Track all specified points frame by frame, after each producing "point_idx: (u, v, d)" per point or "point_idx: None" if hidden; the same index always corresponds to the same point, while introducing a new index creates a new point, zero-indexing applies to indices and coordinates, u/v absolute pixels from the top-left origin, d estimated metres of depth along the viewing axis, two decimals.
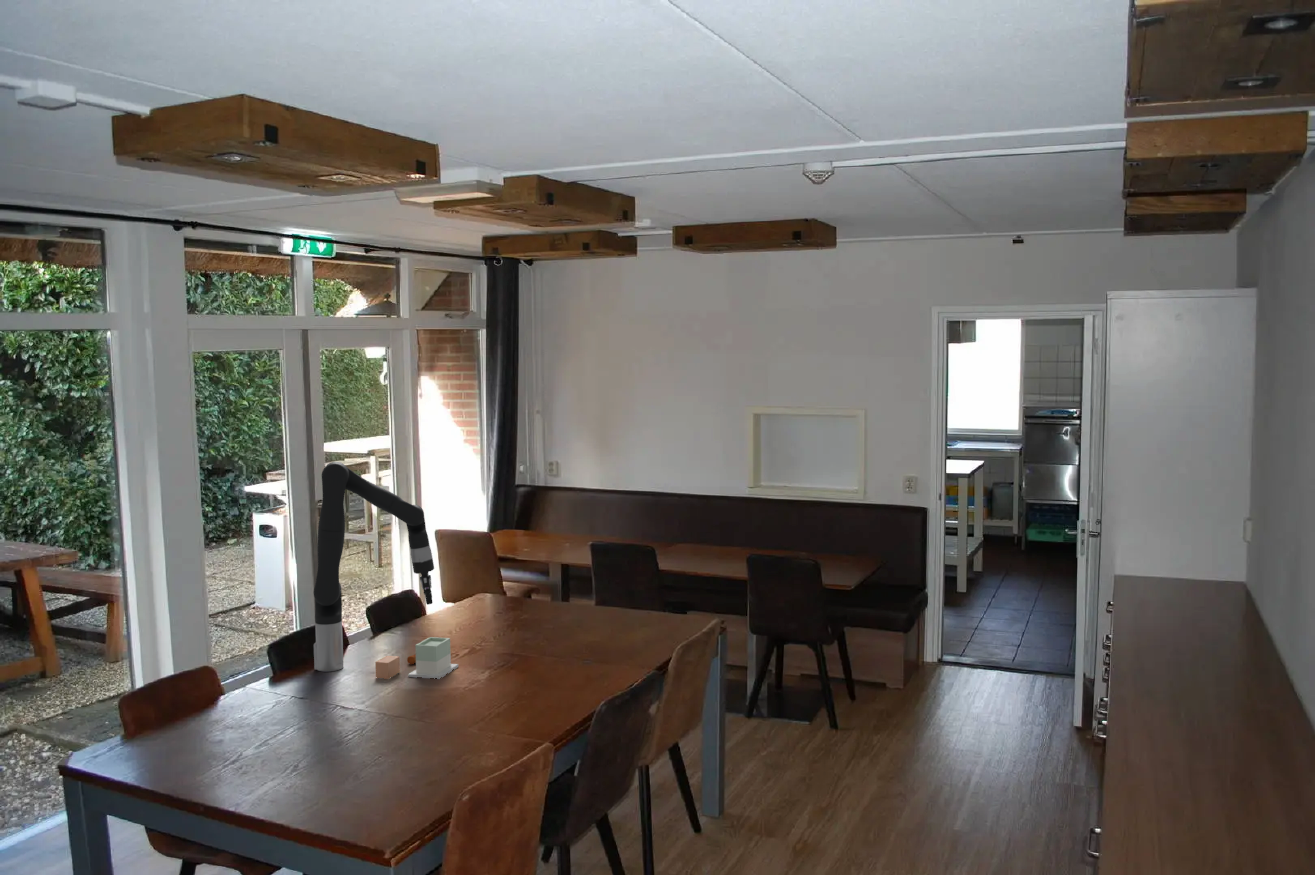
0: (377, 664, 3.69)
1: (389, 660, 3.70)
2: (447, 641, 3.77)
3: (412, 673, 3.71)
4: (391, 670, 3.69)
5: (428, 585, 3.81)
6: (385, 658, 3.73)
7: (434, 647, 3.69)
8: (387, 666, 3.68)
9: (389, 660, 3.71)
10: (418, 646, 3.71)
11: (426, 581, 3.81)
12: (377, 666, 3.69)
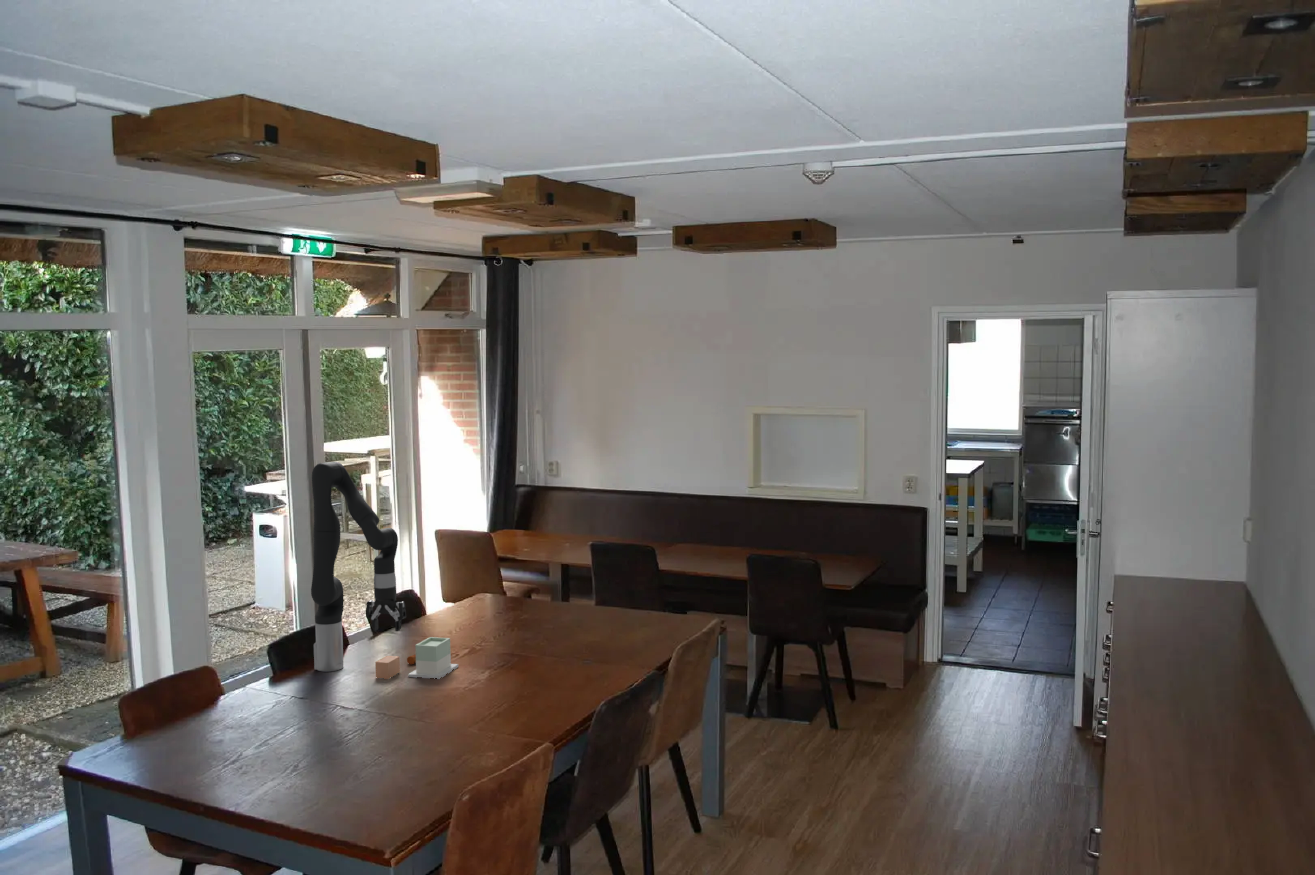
0: (377, 664, 3.69)
1: (389, 660, 3.70)
2: (447, 641, 3.77)
3: (412, 673, 3.71)
4: (391, 670, 3.69)
5: None
6: (385, 658, 3.73)
7: (434, 647, 3.69)
8: (387, 666, 3.68)
9: (389, 660, 3.71)
10: (418, 646, 3.71)
11: None
12: (377, 666, 3.69)
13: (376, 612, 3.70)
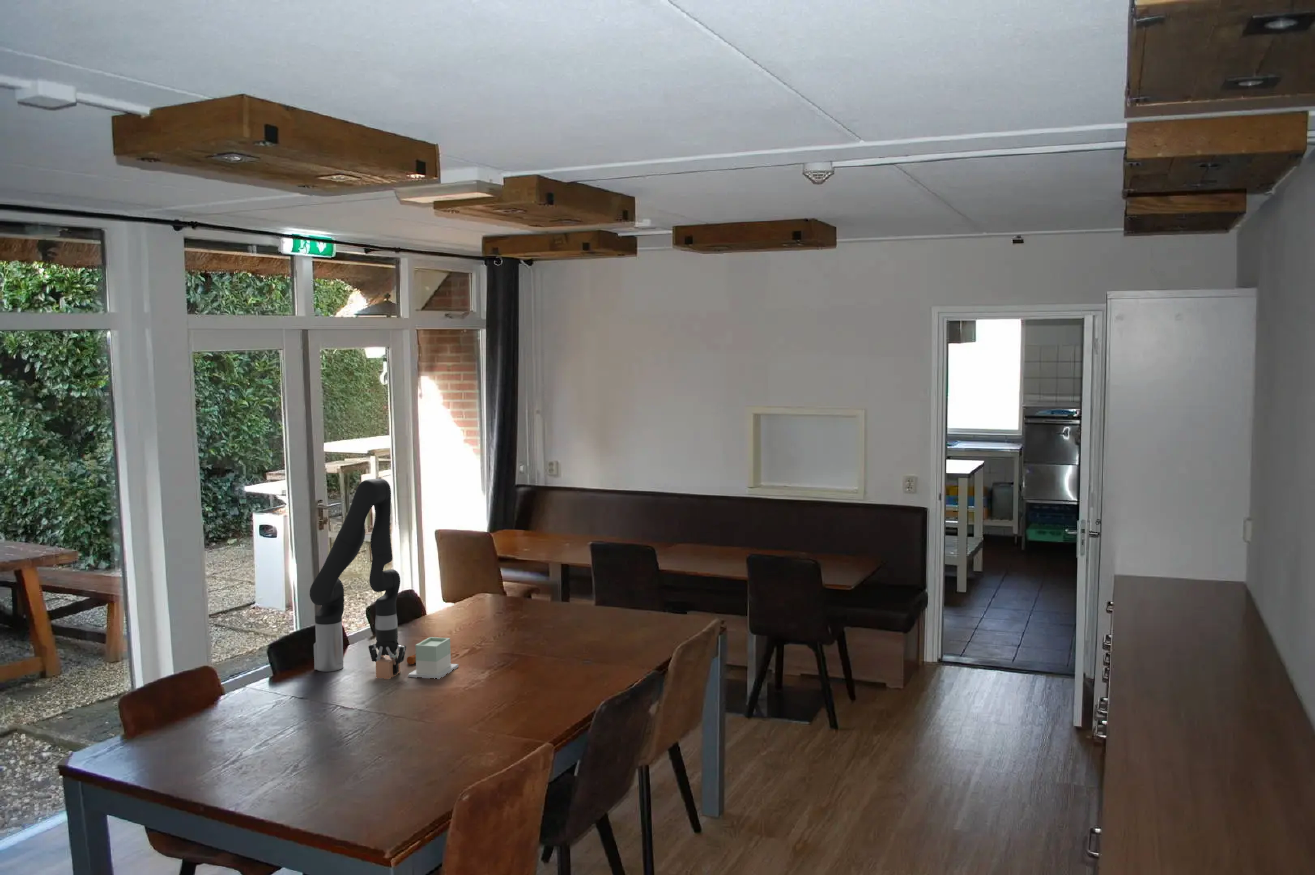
0: (377, 664, 3.69)
1: (389, 660, 3.70)
2: (447, 641, 3.77)
3: (412, 673, 3.71)
4: (391, 670, 3.69)
5: None
6: (385, 658, 3.73)
7: (434, 647, 3.69)
8: (387, 666, 3.68)
9: (389, 659, 3.71)
10: (418, 646, 3.71)
11: None
12: (377, 666, 3.69)
13: (379, 654, 3.71)
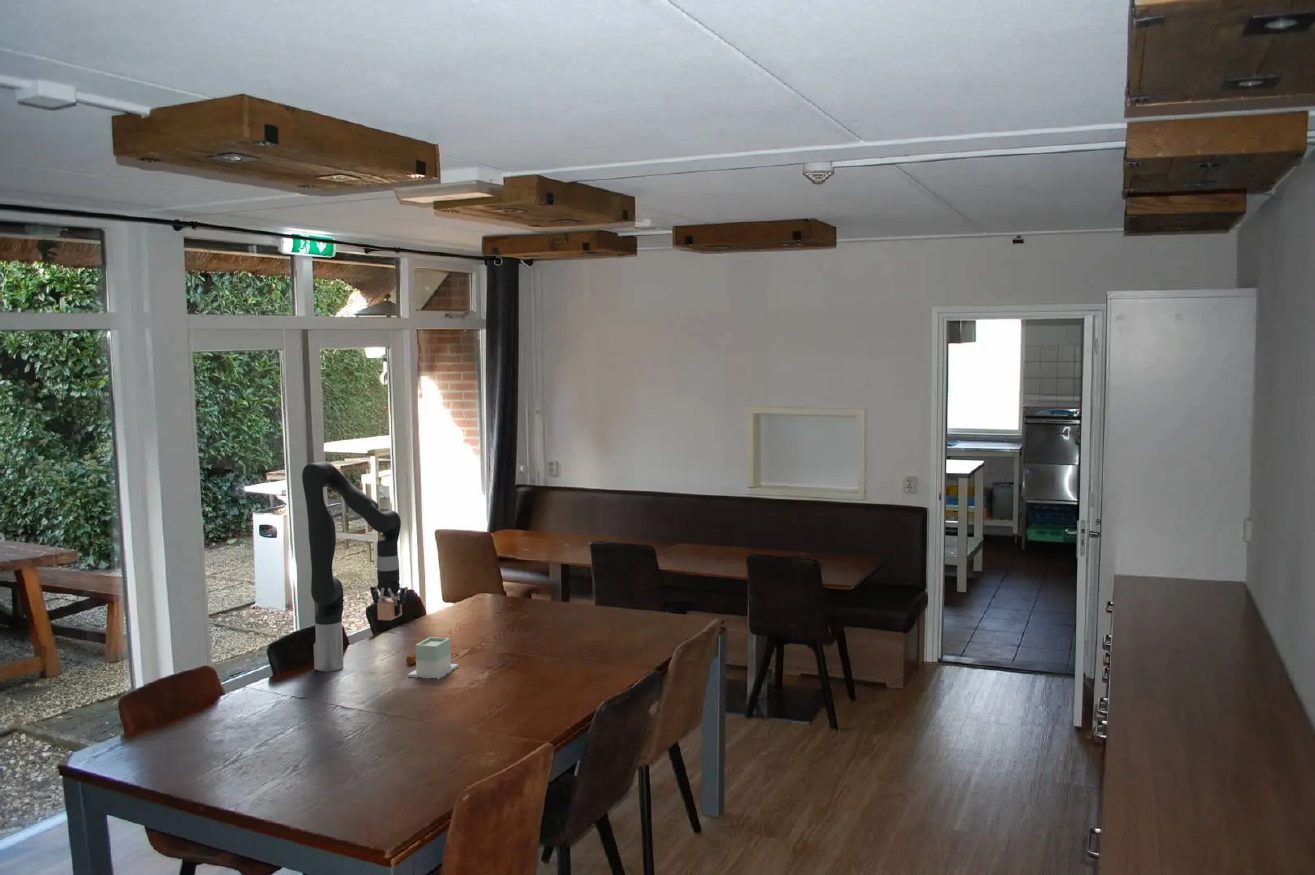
0: (379, 605, 3.67)
1: (391, 601, 3.68)
2: (447, 641, 3.77)
3: (412, 673, 3.71)
4: (393, 611, 3.68)
5: None
6: (387, 600, 3.71)
7: (434, 647, 3.69)
8: (389, 607, 3.66)
9: (391, 601, 3.69)
10: (418, 646, 3.71)
11: None
12: (379, 607, 3.67)
13: (381, 596, 3.69)
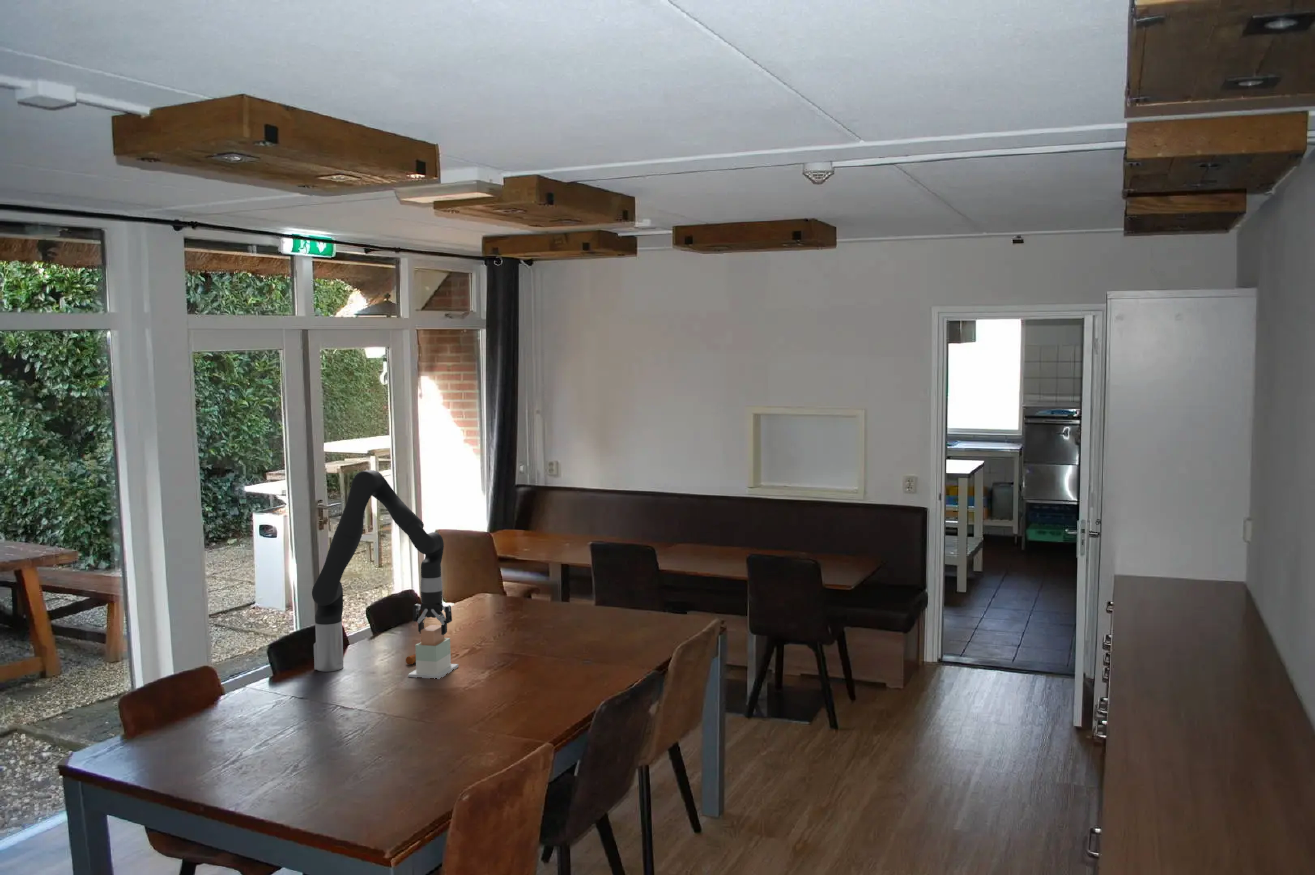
0: (422, 632, 3.71)
1: (434, 629, 3.73)
2: (447, 641, 3.77)
3: (412, 673, 3.71)
4: (436, 638, 3.72)
5: None
6: (430, 627, 3.76)
7: (434, 647, 3.69)
8: (432, 634, 3.71)
9: (434, 628, 3.74)
10: (418, 646, 3.71)
11: None
12: (422, 634, 3.72)
13: (422, 616, 3.74)
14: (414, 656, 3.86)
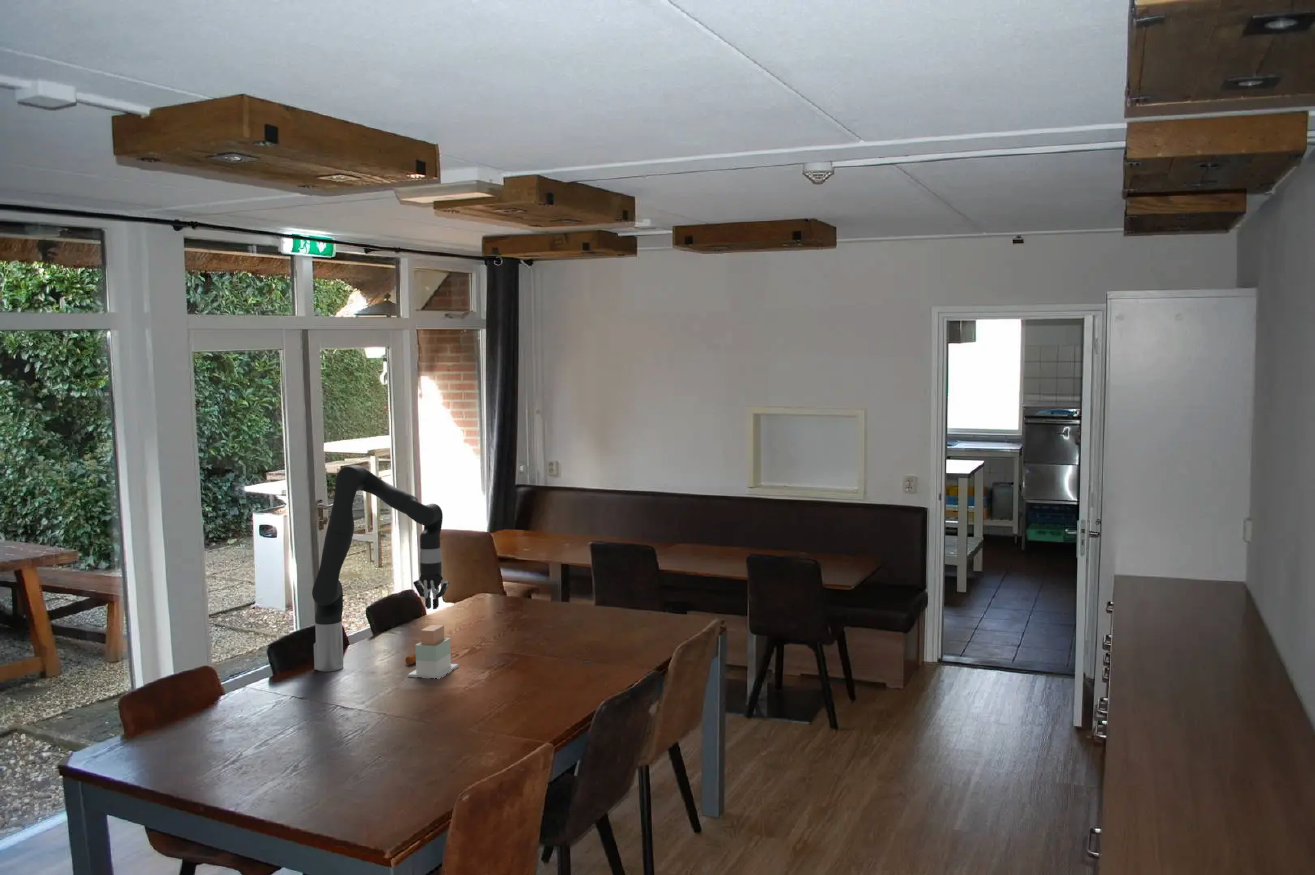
0: (422, 632, 3.71)
1: (434, 629, 3.73)
2: (447, 641, 3.77)
3: (412, 673, 3.71)
4: (436, 638, 3.72)
5: None
6: (430, 627, 3.76)
7: (434, 647, 3.69)
8: (432, 634, 3.71)
9: (434, 628, 3.74)
10: (418, 646, 3.71)
11: None
12: (422, 634, 3.72)
13: (425, 589, 3.72)
14: (414, 656, 3.86)
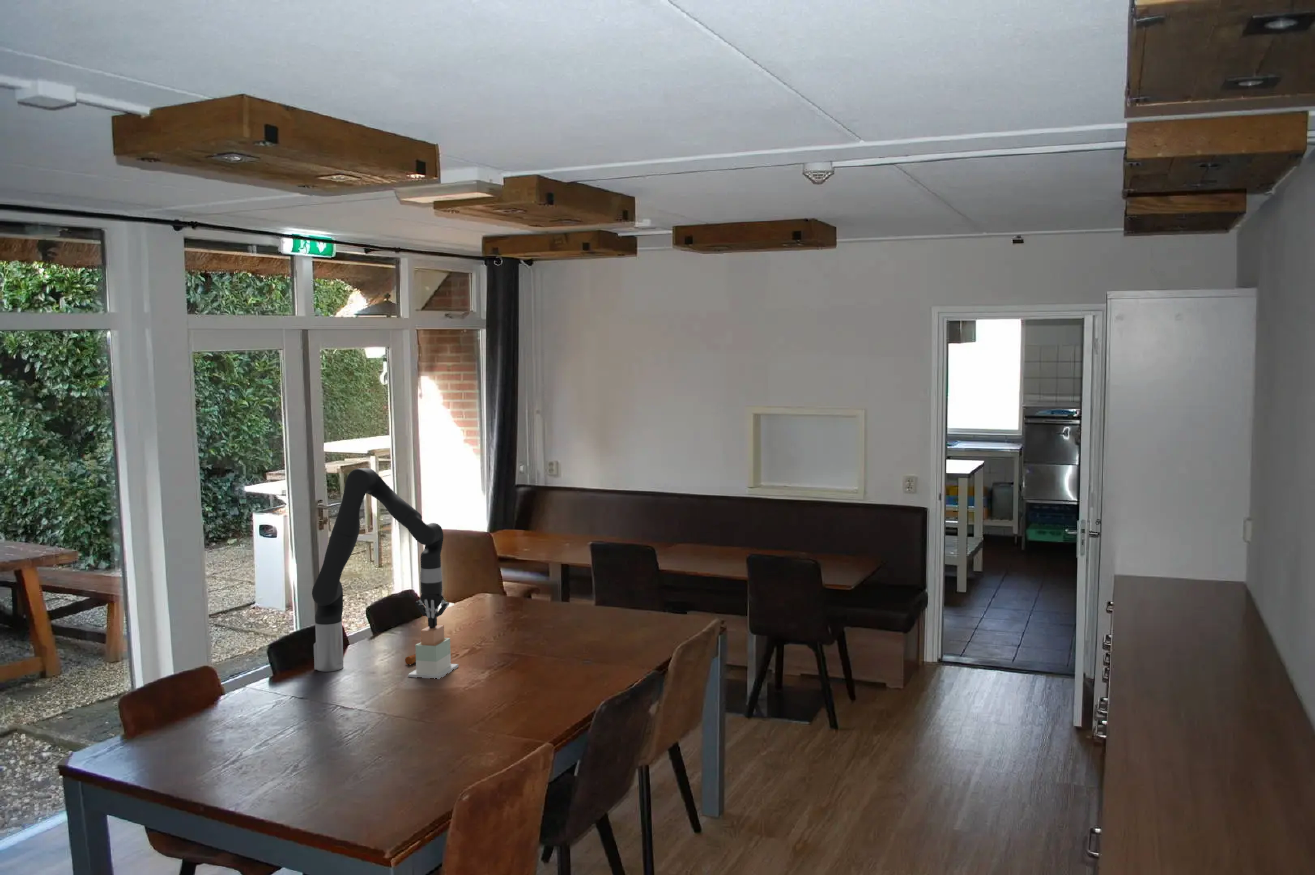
0: (422, 632, 3.71)
1: (434, 629, 3.73)
2: (447, 641, 3.77)
3: (412, 673, 3.71)
4: (436, 638, 3.72)
5: None
6: None
7: (434, 647, 3.69)
8: (432, 634, 3.71)
9: (434, 628, 3.74)
10: (418, 646, 3.71)
11: None
12: (422, 634, 3.72)
13: (427, 608, 3.73)
14: (413, 656, 3.86)
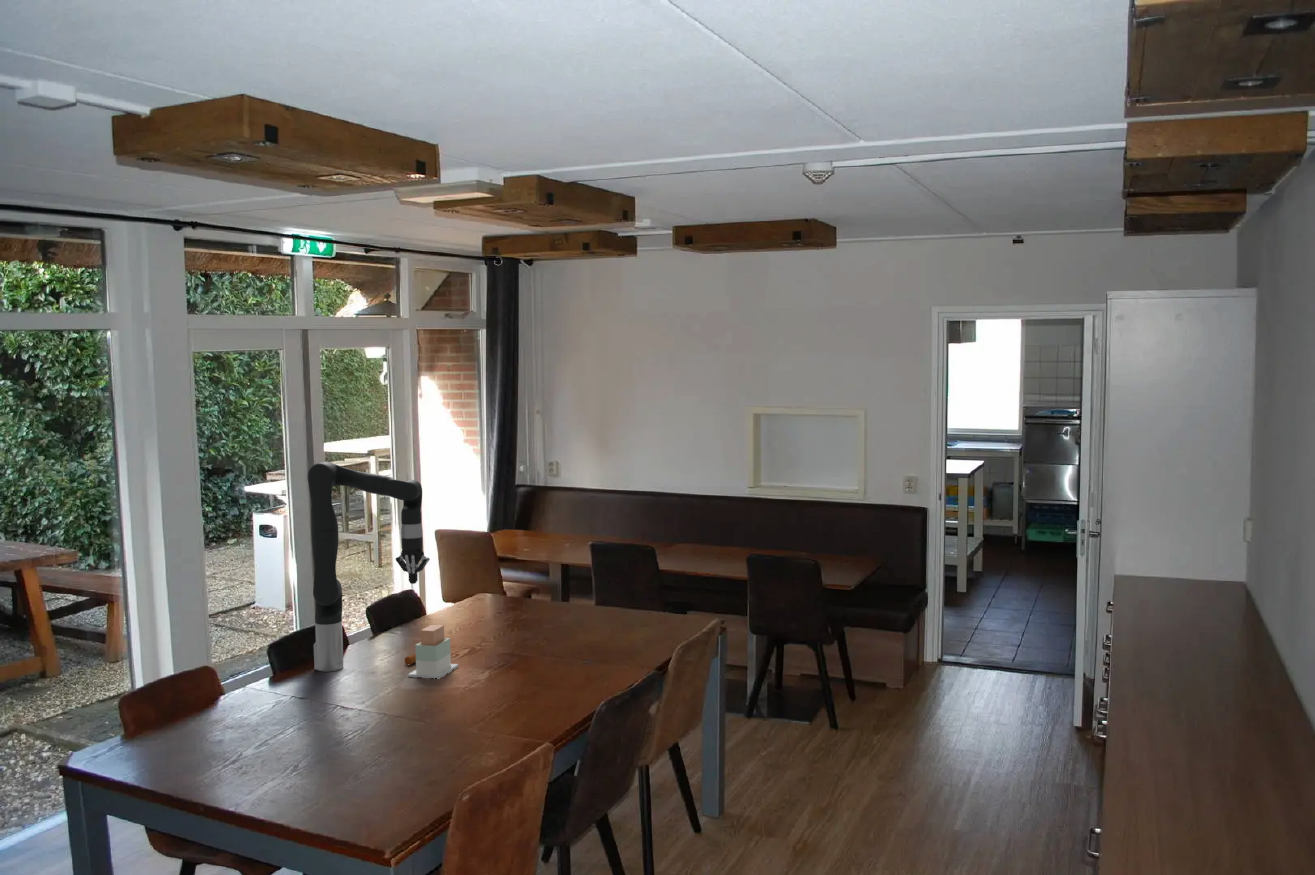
0: (422, 632, 3.71)
1: (434, 629, 3.73)
2: (447, 641, 3.77)
3: (412, 673, 3.71)
4: (436, 638, 3.72)
5: None
6: (430, 627, 3.76)
7: (434, 647, 3.69)
8: (432, 634, 3.71)
9: (434, 628, 3.74)
10: (418, 646, 3.71)
11: None
12: (422, 634, 3.72)
13: (408, 563, 3.77)
14: (413, 656, 3.86)
